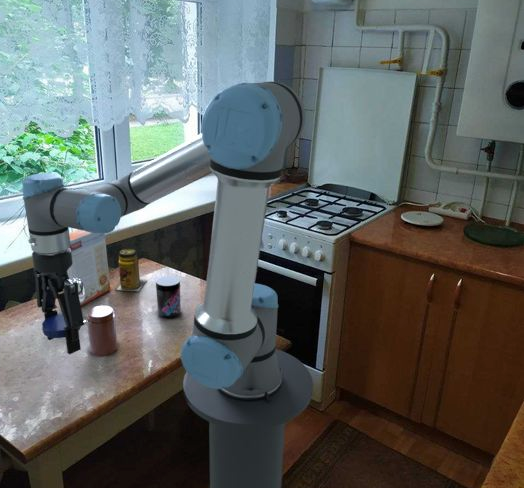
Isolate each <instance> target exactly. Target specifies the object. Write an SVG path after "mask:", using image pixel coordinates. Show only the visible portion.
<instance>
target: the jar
mask: <svg viewBox="0 0 524 488" xmlns="http://www.w3.org/2000/svg"><path fill="white" fill-rule="evenodd" d="M86 314H87V317H86V326H87V327H86V328H87V334H88V344H89V351H90V353H91V354H92V355H94V356H98V357H99V356H108V355H110V354H113V353H115V352H116V351H117V350H118V347H119V346H118V335H117V325H116V316H115V313H114V308H112V306H110V305H97V306H93V307H91V308H90V309H88V310H87V313H86Z"/></svg>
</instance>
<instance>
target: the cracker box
mask: <svg viewBox="0 0 524 488" xmlns="http://www.w3.org/2000/svg"><path fill="white" fill-rule="evenodd" d="M69 235H70V244H71V246H70V247H69V248H70V249H71V253H72V262H73V263H72V266H71V267H70V268H69V269H68V270H67V273H68V276H69V279H72V278H79V279H81V280H82V282H83V284H84V287H85V292H86V295H85V298H84V300H83V301H82V302H80V305H81V307H82V306H84V305H85V304H87V303H89V302H91V301H93V300H94V299H96V298H98V297H100V296H101V295H104V294H106V293H107V292H109V291H111V282H110V271H109V263H108V254H107V253H108V252H107V243H106V233H92V232H91V233H90V232H87V231H83V230H79V229H75V230H74V231H71V232H69Z"/></svg>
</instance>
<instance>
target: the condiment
mask: <svg viewBox="0 0 524 488" xmlns="http://www.w3.org/2000/svg"><path fill="white" fill-rule="evenodd" d="M139 264H140V263H139V258H138V255H137V250H135V249H131V248H125V249H122V250H120V251H119V252H118V271H119V286H117V288H116V289H115V290H116V291H124V292H140V290H141V289H142V288H143V286H144V285H145V283H146V282H147V279H141V278H140V266H139Z"/></svg>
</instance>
